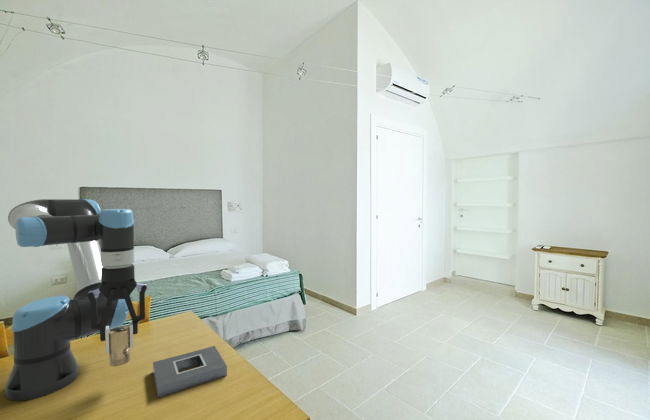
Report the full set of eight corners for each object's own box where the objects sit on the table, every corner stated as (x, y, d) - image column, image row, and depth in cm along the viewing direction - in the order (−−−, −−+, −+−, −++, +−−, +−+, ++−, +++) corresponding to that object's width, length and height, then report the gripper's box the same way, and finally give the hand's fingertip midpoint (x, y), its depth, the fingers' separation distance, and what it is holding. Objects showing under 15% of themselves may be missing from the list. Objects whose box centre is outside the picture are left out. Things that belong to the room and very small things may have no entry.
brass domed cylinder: (109, 359, 84) (109, 328, 84) (130, 355, 87) (129, 324, 86) (109, 368, 80) (108, 334, 80) (130, 362, 83) (130, 330, 82)
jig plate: (153, 371, 91) (152, 361, 90) (214, 354, 101) (214, 345, 101) (157, 397, 79) (157, 386, 79) (226, 375, 89) (226, 365, 89)
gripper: (74, 272, 74) (76, 364, 75) (156, 264, 84) (157, 345, 85) (77, 266, 80) (80, 351, 81) (154, 259, 90) (155, 335, 91)
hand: (119, 348), depth 83 cm, fingers closed on brass domed cylinder, 5 cm apart
